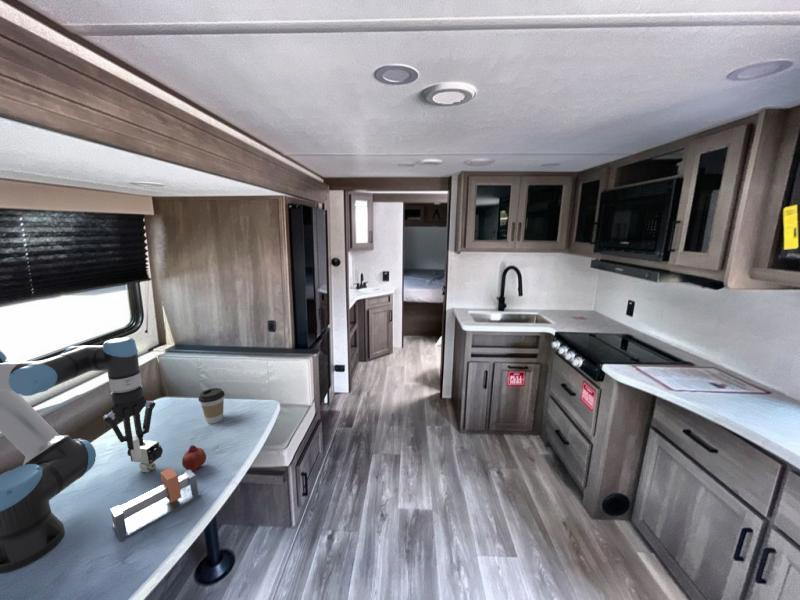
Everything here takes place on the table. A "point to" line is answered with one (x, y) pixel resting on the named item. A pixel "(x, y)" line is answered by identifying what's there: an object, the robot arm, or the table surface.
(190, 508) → the table surface
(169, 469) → the terracotta rectangular block
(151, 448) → the pneumatic valve
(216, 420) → the coffee cup
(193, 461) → the fruit
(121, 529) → the grey rail frame
